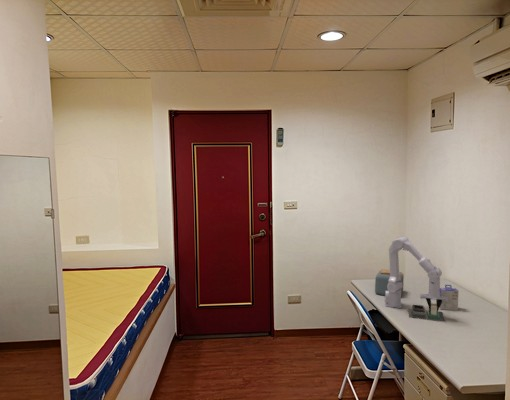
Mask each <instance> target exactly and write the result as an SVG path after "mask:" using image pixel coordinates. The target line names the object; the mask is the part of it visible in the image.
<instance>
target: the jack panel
mask: <svg viewBox="0 0 510 400" xmlns="http://www.w3.org/2000/svg"><path fill="white" fill-rule="evenodd" d="M407 313H408V314H409V315H408V318H410V317H412V318H413V319H418V318H419V319H420V320H426V319H427V321H428V320H429V321H436V322H443V323H445V322H446V319H445V317H444V314H443V312H442V311H438V312H437V315H431V314H430V311H429V309H427V310H426V309H425V307H424V305H420V304H419V305H418V304H412V305H411V308H409V307H407ZM419 319H418V320H419Z"/></svg>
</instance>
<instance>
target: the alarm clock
mask: <svg viewBox="0 0 510 400" xmlns="http://www.w3.org/2000/svg"><path fill="white" fill-rule="evenodd" d="M399 277H400V278H401V281H402V284H403V285H404V278H405V276H404V273H403V272H401V271H399ZM389 278H390V269H380V270H379V271H378V273H377V274H376V276H375V281H374V282H375V284H374V287H375V288H374V293H375V294H376V295H380V296H385V293H386V291H389V290H388V289H387V285H388V280H389ZM403 292H404V286H403V287H402V289H401V294H403Z"/></svg>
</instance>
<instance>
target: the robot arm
mask: <svg viewBox="0 0 510 400" xmlns="http://www.w3.org/2000/svg"><path fill="white" fill-rule="evenodd" d="M401 250H403V251H406V252H409V253H410V254H411V255H412V256H413V257H414V258H415V259H416V260H417V261H418V264H419V266H420V267H421V268H422V269H423V270H424V271H425V273H427V277H428V294H425V293H424V294H423V293H422V294H421V293H420V294H419V298H420V299H421V300H422V299H424V300H425V301H426V302H427V305H428V310H429V311H430V312H431V303H432V300H435V301H436V303H435V304H436V305H437V312H439V309H440V305H441V304H442V300H444V301H448V297H444V296H439V295H440V288H441V276H442V275H443V274H442V271H441V269H440V268H439V267H437V266H436V265H435V264H433V263H432V261H431V259H430V258H427V257H424V256H423V254H422V253H420V251H419V250H418V249H417V248H416V246H414V244H413V242H412V241H411V240H410V239H409V238H408V237H406V236H401V237H399V238H395V239H394V240H393V241H391V244H390V247H389V248H388V253H389V254H388V256H389V257H388V258H389V270H390V278H389V280H388V285H387V289H388V290H389V291H386V293H385V299H384V305H385V307H389V308H399V309H402V299H401V298H402V293H401V289H402V287H403V288H404V283H403V284H402V281H401V278H400V277H399V272H400V265H399V262H400V261H399V252H400V251H401Z"/></svg>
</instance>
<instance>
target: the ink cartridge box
mask: <svg viewBox="0 0 510 400" xmlns="http://www.w3.org/2000/svg"><path fill="white" fill-rule="evenodd" d="M444 286H445V287H440V295H439V296H444V297H448V301H444V300H442V304H441V305H440V307H439V309H440V310H446V311H447V310H448V311H458V310H459V290H458V289H457V288H453V287H452V284H444Z"/></svg>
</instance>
